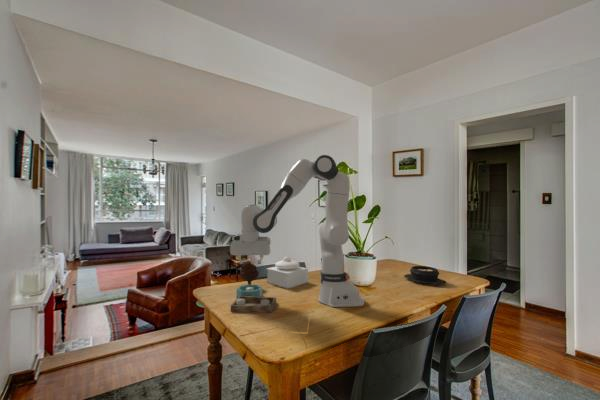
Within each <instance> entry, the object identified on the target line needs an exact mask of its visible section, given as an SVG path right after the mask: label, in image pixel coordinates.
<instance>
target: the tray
mask: <svg viewBox="0 0 600 400" xmlns="http://www.w3.org/2000/svg"><path fill="white" fill-rule="evenodd" d="M240 298H243V299H245V305H236V304H237V299H240ZM263 299H267V300H269V306H261V300H263ZM276 304H277V297H275V296H272V297H270V296H261V297H252V296H239V297H238V298H237V297H236V299H235V300H234V301H233V303H232V304H231V305H230V312H237V313H238V312H239V313H259V314H261V313H262V314H272V312H273V310H274V308H275V307H276Z"/></svg>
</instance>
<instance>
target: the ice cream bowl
mask: <svg viewBox="0 0 600 400" xmlns="http://www.w3.org/2000/svg"><path fill="white" fill-rule="evenodd" d="M257 268H258V267H257V266H256V265H255V264H253V263H252V262H250V261H245V262H243V264H241V269H242V270H240V271H239V275H240V278H241V279H242V280H244V281H246V282H247V285H248V284H250V285H252V281H255V280H256V279H257V278H258V277H259V275H260V270H258V269H257Z"/></svg>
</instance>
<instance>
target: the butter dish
mask: <svg viewBox="0 0 600 400" xmlns="http://www.w3.org/2000/svg"><path fill="white" fill-rule="evenodd" d="M266 275H267V277H266V282H267V284H270V285H274V286H277V287H280V288H284V289H291V288H294V287H297V286H301V285H304V284H308V283H309V269H308V268H307V267H301V266H300V263H299V262H298V261H296V260H292V259H291V258H290V257H289V256H284V258H283V259H282V260H278V261H276V262H275V263H274V266H272V267H267V268H266Z"/></svg>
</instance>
